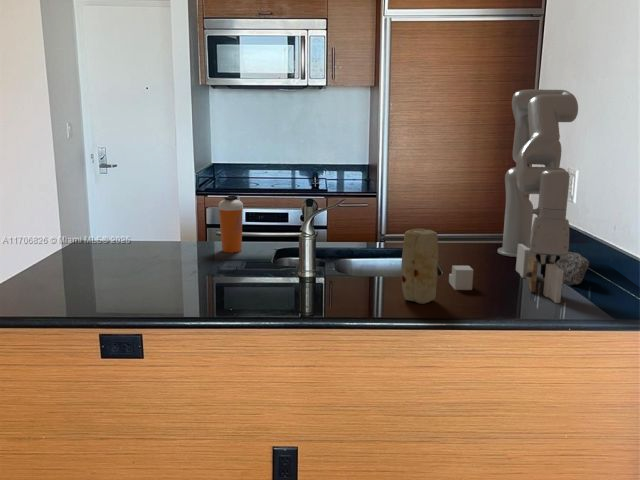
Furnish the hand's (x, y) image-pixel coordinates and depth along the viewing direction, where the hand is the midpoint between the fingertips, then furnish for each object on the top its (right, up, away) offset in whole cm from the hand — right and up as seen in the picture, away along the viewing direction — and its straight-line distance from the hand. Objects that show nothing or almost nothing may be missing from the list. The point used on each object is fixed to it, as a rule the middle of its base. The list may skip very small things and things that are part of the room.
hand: (545, 277), depth 168 cm
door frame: (0, -3, +7) cm, 8 cm away
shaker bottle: (-97, +7, +47) cm, 108 cm away
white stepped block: (-23, -3, +6) cm, 24 cm away
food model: (-38, -6, -8) cm, 39 cm away
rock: (+12, -2, +13) cm, 18 cm away
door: (-3, -3, +7) cm, 8 cm away
